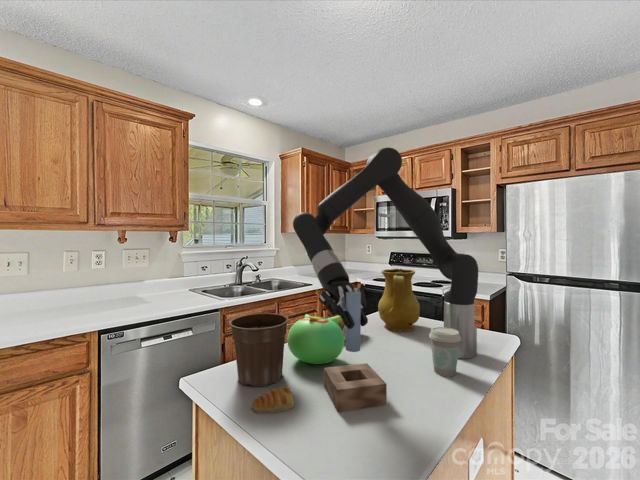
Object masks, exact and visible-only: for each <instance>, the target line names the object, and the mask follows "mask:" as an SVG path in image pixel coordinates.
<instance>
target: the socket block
mask: <svg viewBox="0 0 640 480" xmlns="http://www.w3.org/2000/svg"><path fill="white" fill-rule="evenodd" d="M387 384H388V383H386V382H385V380H384V379H383V378H382V377H381V376H380V375H379V374H378V373H377V372H376V371H375V370H374V369H373V367H371V366H370V365H369V364H368V363H366V362H365V363H357V364H347V365H338V366H337V365H336V366H329V367H324V368H323V387H324V389H325V392H326V394H327V395H328V397H329V399H330V401H331V403H332V405H333V406H334V408H335V410H336V412H337V413H339V412H346V411H352V410H353V411H354V410H361V409H367V408H374V407H380V406H387V400H388V399H387V398H388V397H387V388H388V387H387Z"/></svg>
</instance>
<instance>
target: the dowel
mask: <svg viewBox="0 0 640 480" xmlns="http://www.w3.org/2000/svg"><path fill="white" fill-rule="evenodd" d="M345 305H346V308H347V311H348V312H349V314H350V315H351V317H352V319H353V321H354V323H355V325H354V327H353V328H352V329H348V327H346V341H345V351H347V352H350V353H358V352H360V351H361V339H362V338H361V334H362V333H361V329H362V328H361V327H362V326H361V293H360V292H346V303H345Z"/></svg>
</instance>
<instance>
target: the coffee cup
mask: <svg viewBox="0 0 640 480" xmlns="http://www.w3.org/2000/svg"><path fill="white" fill-rule="evenodd" d="M428 336H429V338H430V346H431V348H430V349H431V356H432V365H433V372H434V373H436V374H437V375H439V376H443V377H453V376H454V377H455V375H456V373H457V366H458V359H459V358H458V351H459V343H460V341H461V336H460V334H459V332H458V331H457V330H455V329H452V328H446V327H444V326H437V327H432V328H431V330H430V332H429V335H428Z"/></svg>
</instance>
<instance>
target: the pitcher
mask: <svg viewBox="0 0 640 480" xmlns="http://www.w3.org/2000/svg"><path fill="white" fill-rule="evenodd" d="M380 273H381V274H382V275H383V276H384V279H385V281H384V283H385V284H384V291H383V294H382V296H381V298H380V299H379V301H378V305H377V308H378V309H377V311H378V315H379V318H380V320H381V321H382V322H383V323H384V326H383V327H384V328H385V329H386V330H390V331H394V332H401V331H402V332H403V333H405V332H406V331H407V332H411V331H414V330H416V329H415V326H414V325H415V324H416V323H418V321H419V319H420V311H421V306H420V303H419V301H418V299H417V297H416V296H415V294H414V291H413V286H412V285H413V284H412V278H413V276H414V275H416V271H415V270H414V269H404V268H392V269H391V268H390V269H387V268H386V269H385V268H384V269H382V270H381V272H380ZM407 332H406V333H407Z"/></svg>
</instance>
